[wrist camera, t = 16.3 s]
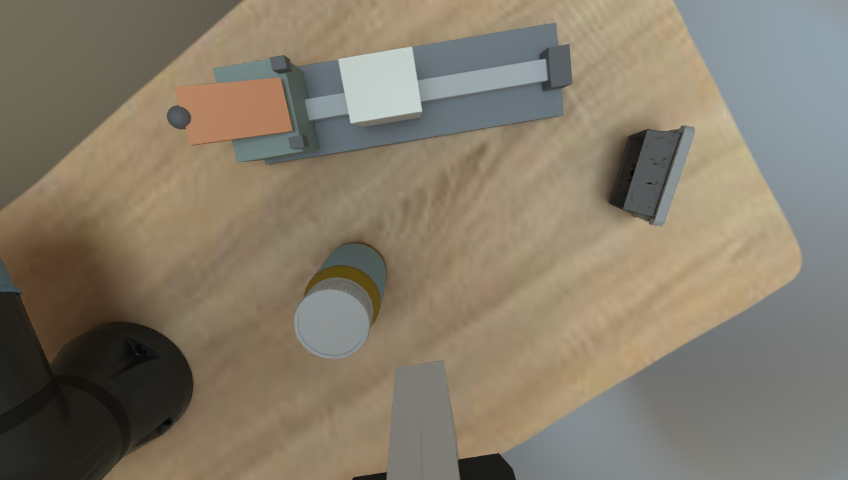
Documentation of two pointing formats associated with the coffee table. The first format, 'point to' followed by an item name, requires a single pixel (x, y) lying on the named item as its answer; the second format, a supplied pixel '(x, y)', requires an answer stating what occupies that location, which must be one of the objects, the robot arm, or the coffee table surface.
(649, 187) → the electrical switch
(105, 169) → the coffee table surface
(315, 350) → the bottle
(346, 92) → the carriage
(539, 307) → the coffee table surface
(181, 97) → the lever
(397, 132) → the rail bench
